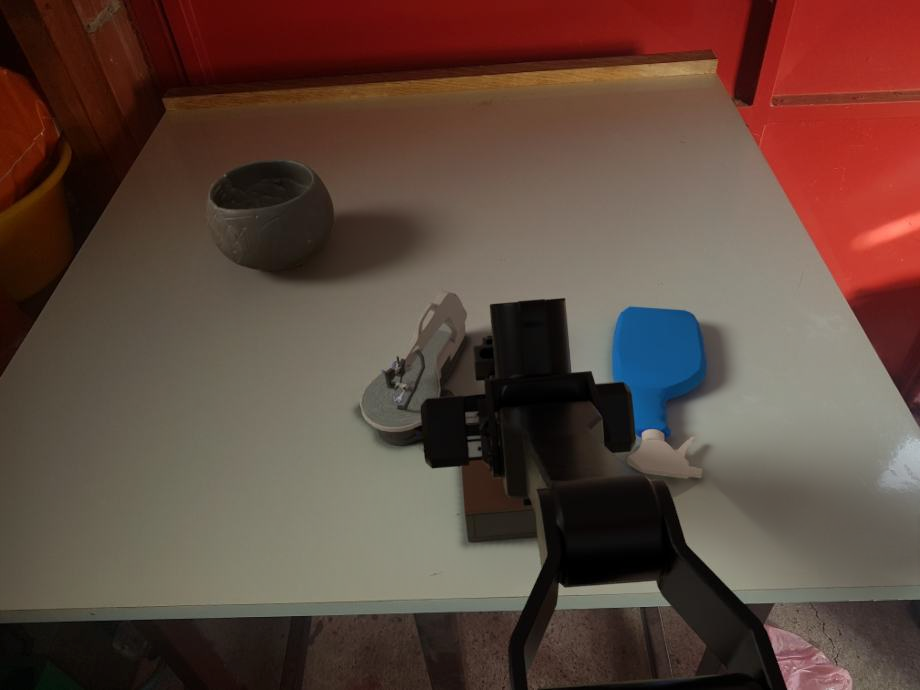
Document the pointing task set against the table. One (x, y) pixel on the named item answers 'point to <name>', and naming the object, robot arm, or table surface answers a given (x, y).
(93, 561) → the table surface
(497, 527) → the dark grey flat tray
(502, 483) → the lid
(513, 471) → the robot arm
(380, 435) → the scroll saw
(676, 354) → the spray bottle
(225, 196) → the bowl
